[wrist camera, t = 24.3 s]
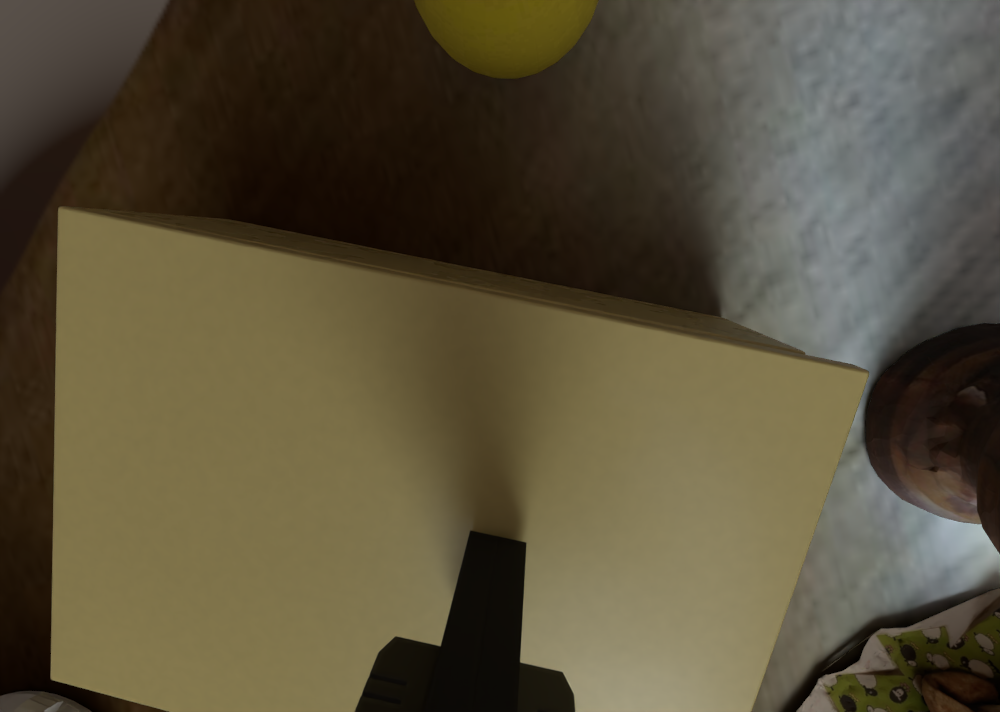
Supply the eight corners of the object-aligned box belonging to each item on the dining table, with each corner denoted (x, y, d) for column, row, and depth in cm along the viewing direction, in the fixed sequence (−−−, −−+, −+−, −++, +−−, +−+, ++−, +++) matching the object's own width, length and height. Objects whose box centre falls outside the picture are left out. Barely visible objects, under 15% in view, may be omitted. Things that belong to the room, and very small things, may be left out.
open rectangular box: (723, 317, 21) (808, 352, 14) (631, 643, 24) (664, 798, 17) (226, 218, 21) (84, 207, 15) (199, 547, 24) (72, 660, 18)
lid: (854, 364, 13) (871, 371, 13) (695, 826, 16) (702, 855, 16) (83, 207, 15) (56, 204, 14) (71, 661, 18) (48, 680, 17)
